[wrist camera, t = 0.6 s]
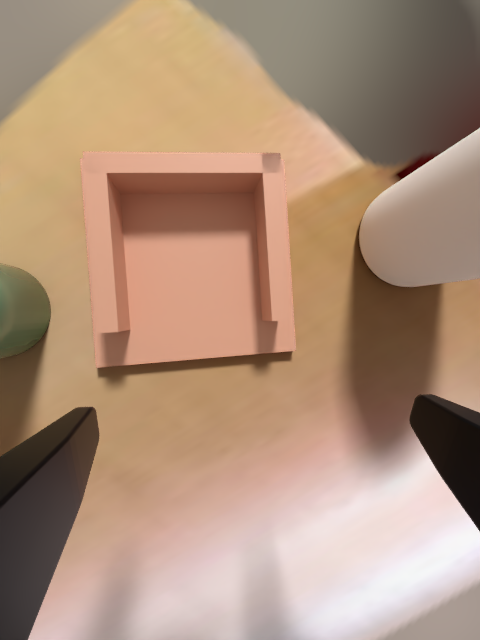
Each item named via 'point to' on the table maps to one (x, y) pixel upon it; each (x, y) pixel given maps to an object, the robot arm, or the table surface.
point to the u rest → (187, 255)
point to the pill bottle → (428, 222)
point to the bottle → (21, 311)
